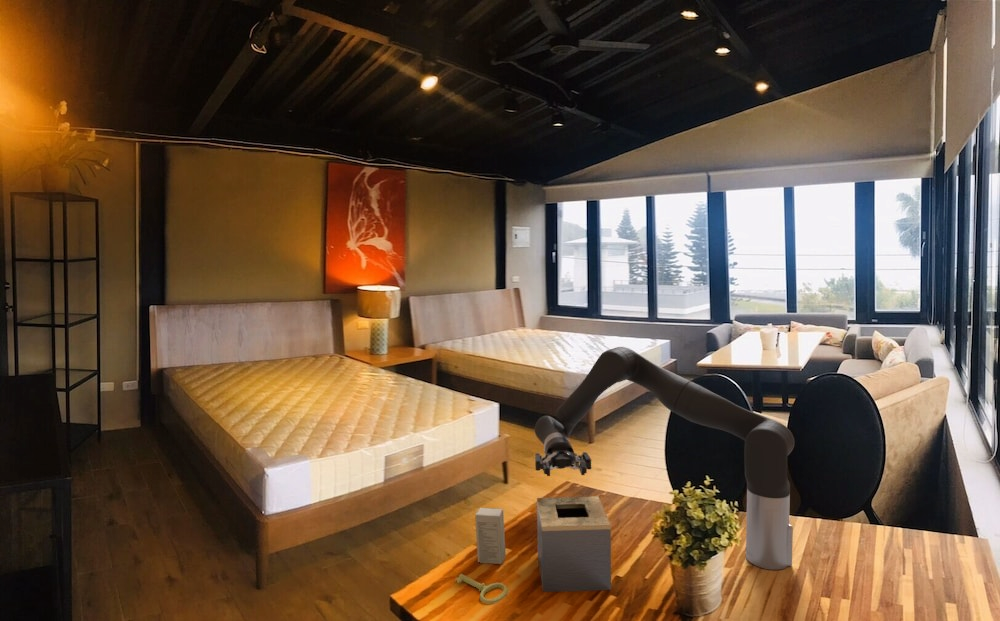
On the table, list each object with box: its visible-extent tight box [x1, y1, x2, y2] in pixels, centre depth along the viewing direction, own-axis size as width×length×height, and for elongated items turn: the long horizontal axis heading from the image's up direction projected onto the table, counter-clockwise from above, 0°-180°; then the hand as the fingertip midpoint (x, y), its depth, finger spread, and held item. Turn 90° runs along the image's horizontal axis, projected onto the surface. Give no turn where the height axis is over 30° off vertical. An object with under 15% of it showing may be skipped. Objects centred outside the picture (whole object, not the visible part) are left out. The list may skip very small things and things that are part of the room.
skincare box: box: [474, 507, 506, 565], centre depth 142 cm, size 6×4×12 cm
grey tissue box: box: [536, 495, 612, 593], centre depth 135 cm, size 15×15×15 cm
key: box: [454, 573, 508, 604], centre depth 128 cm, size 7×12×2 cm, turn 71°
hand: (566, 471), depth 143 cm, fingers open, 8 cm apart
